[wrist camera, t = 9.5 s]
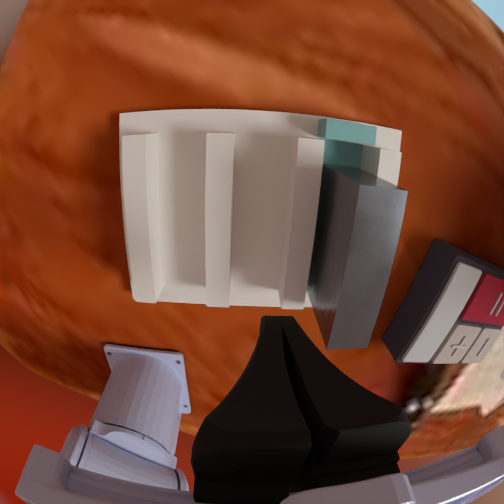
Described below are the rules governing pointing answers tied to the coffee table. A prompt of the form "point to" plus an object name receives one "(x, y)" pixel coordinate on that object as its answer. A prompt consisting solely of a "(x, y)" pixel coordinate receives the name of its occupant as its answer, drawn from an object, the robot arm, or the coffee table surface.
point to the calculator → (448, 309)
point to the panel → (353, 253)
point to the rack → (233, 199)
